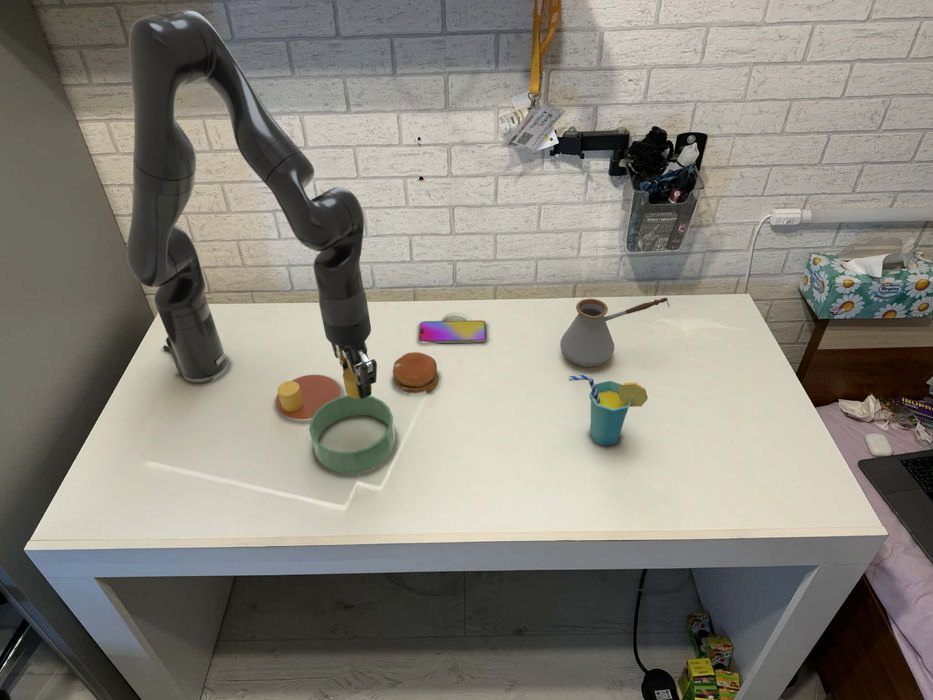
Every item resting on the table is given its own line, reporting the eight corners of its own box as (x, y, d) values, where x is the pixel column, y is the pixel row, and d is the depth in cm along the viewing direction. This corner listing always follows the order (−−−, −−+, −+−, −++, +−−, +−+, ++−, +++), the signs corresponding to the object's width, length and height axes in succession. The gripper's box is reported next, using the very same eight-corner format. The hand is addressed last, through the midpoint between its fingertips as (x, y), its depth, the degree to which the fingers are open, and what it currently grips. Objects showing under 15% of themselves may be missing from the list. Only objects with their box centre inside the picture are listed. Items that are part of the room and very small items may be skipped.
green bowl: (301, 466, 119) (294, 444, 116) (335, 410, 130) (331, 388, 127) (377, 483, 116) (374, 461, 112) (406, 424, 127) (404, 401, 123)
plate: (264, 415, 130) (263, 412, 129) (295, 373, 139) (294, 370, 139) (324, 428, 127) (323, 424, 126) (351, 383, 136) (351, 380, 136)
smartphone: (486, 340, 145) (418, 341, 145) (486, 342, 146) (418, 343, 146) (485, 320, 151) (420, 321, 151) (485, 322, 152) (420, 323, 152)
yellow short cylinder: (341, 396, 116) (338, 379, 113) (352, 379, 119) (349, 362, 117) (365, 400, 115) (363, 383, 112) (375, 383, 118) (373, 366, 115)
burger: (444, 389, 135) (443, 372, 132) (400, 400, 132) (398, 383, 129) (430, 360, 142) (429, 343, 139) (388, 370, 140) (386, 353, 137)
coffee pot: (562, 373, 138) (567, 316, 128) (556, 339, 146) (561, 283, 137) (664, 372, 137) (677, 314, 128) (652, 338, 146) (664, 282, 136)
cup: (562, 448, 122) (569, 389, 112) (562, 418, 127) (568, 359, 118) (639, 453, 120) (652, 394, 111) (635, 422, 126) (647, 364, 117)
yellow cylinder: (278, 409, 130) (273, 393, 127) (288, 395, 133) (283, 379, 130) (297, 413, 129) (293, 397, 126) (306, 399, 132) (303, 382, 129)
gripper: (304, 298, 109) (321, 375, 119) (344, 341, 99) (358, 420, 110) (345, 283, 112) (358, 359, 123) (387, 323, 103) (397, 401, 114)
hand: (358, 387), depth 116 cm, fingers closed on yellow short cylinder, 4 cm apart
